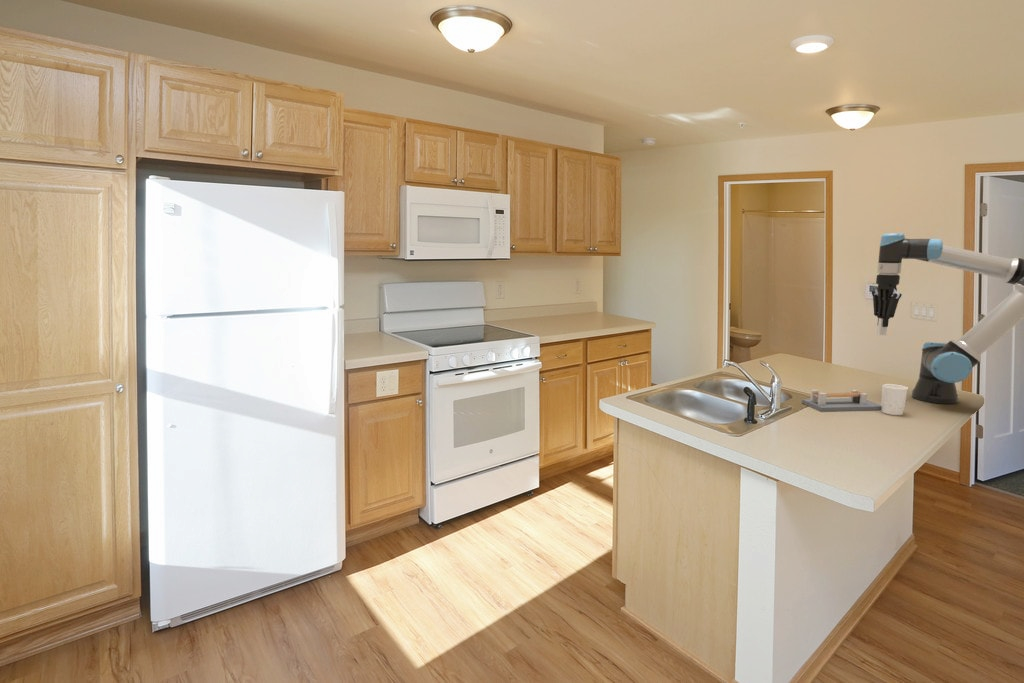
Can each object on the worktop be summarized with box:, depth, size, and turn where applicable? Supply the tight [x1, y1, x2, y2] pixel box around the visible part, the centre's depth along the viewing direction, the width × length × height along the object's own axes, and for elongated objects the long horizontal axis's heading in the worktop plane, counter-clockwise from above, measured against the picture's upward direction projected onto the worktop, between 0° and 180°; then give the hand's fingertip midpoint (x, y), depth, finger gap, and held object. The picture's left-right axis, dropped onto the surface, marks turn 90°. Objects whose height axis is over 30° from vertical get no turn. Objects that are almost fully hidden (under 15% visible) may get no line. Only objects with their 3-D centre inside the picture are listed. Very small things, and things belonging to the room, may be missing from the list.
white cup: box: [880, 383, 909, 416], centre depth 212 cm, size 8×8×10 cm
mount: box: [801, 389, 882, 413], centre depth 220 cm, size 25×12×6 cm, turn 96°
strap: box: [813, 391, 865, 398], centre depth 220 cm, size 19×3×1 cm, turn 96°
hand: (881, 334), depth 226 cm, fingers closed
